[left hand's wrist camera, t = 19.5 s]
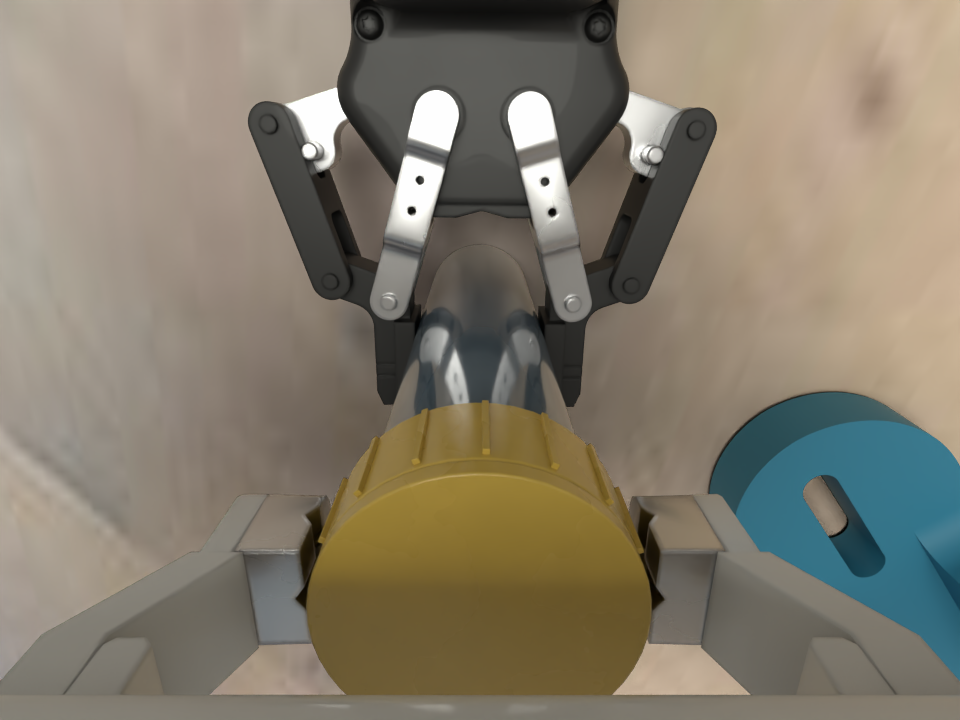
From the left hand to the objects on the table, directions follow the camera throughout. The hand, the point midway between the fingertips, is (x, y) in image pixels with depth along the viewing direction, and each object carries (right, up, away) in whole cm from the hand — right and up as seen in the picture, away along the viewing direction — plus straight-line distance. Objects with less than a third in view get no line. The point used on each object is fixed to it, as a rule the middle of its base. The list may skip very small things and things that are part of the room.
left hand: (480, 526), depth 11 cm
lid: (0, -1, -2) cm, 2 cm away
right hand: (0, +1, +11) cm, 11 cm away
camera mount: (+19, -6, +21) cm, 29 cm away
